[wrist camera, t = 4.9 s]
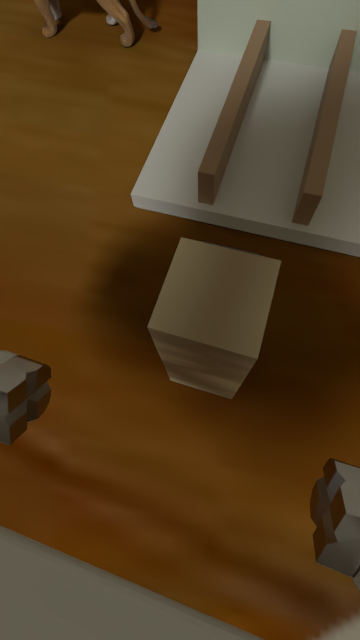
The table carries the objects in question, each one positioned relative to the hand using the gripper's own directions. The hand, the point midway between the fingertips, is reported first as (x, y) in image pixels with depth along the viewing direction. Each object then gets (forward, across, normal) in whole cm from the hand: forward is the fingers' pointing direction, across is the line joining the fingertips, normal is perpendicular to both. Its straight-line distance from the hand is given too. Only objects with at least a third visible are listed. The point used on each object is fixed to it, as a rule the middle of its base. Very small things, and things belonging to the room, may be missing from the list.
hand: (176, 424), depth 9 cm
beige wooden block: (+9, 0, +3) cm, 9 cm away
